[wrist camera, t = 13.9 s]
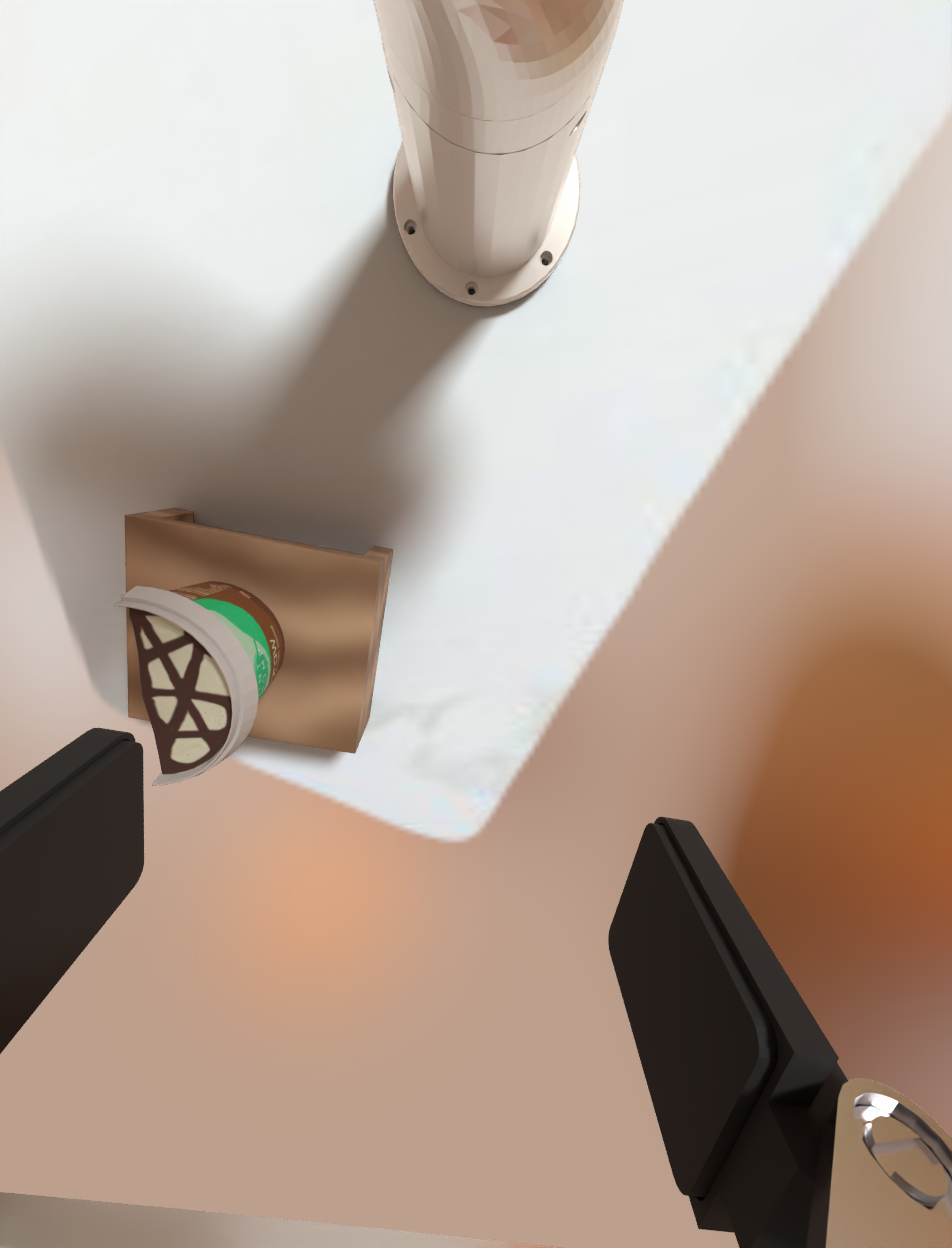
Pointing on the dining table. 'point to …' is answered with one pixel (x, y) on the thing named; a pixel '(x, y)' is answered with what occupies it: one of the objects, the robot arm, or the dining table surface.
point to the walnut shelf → (278, 618)
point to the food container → (202, 669)
